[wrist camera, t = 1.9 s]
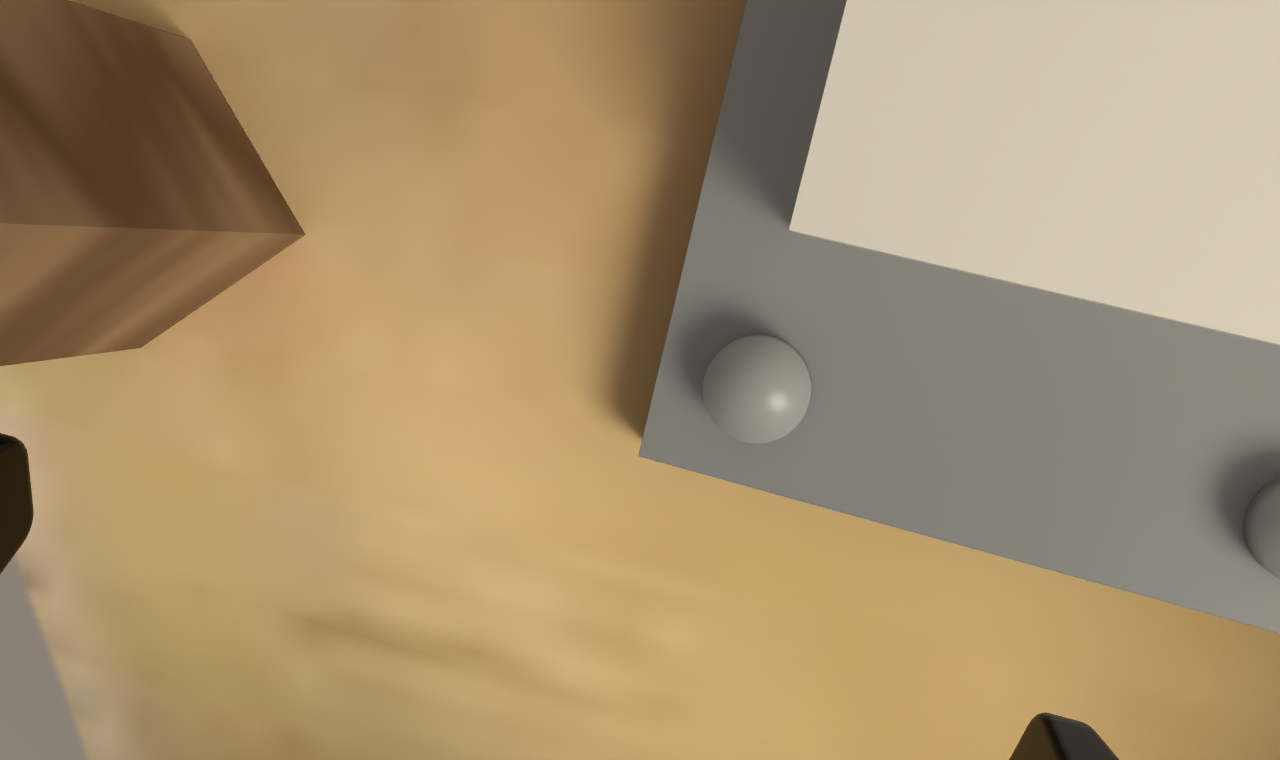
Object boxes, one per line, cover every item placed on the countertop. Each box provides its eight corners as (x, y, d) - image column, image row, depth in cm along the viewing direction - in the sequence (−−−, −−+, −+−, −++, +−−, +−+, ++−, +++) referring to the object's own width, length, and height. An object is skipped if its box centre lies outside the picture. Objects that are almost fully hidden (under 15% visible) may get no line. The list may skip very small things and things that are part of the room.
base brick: (1355, 639, 20) (1485, 738, 16) (649, 445, 22) (603, 488, 18) (1777, -521, 17) (2077, -773, 13) (900, -606, 19) (913, -843, 15)
